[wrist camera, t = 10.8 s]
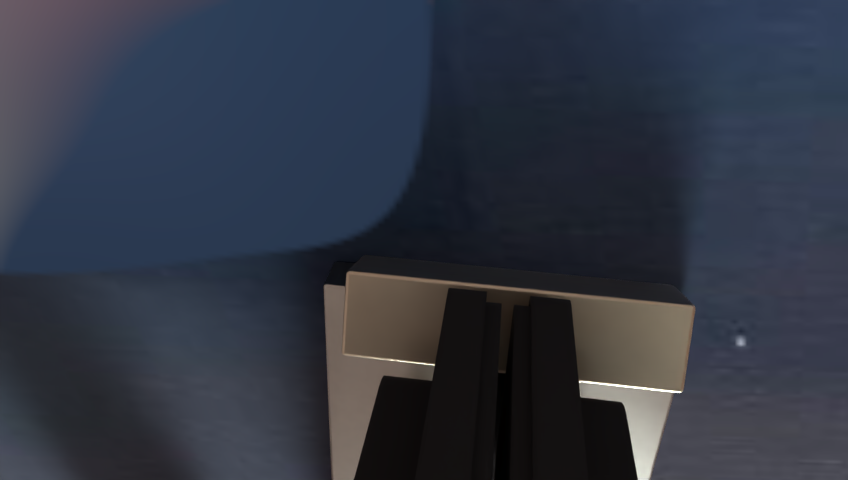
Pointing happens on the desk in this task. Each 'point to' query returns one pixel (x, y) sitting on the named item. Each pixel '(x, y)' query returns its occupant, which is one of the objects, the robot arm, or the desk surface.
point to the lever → (591, 309)
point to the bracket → (361, 378)
